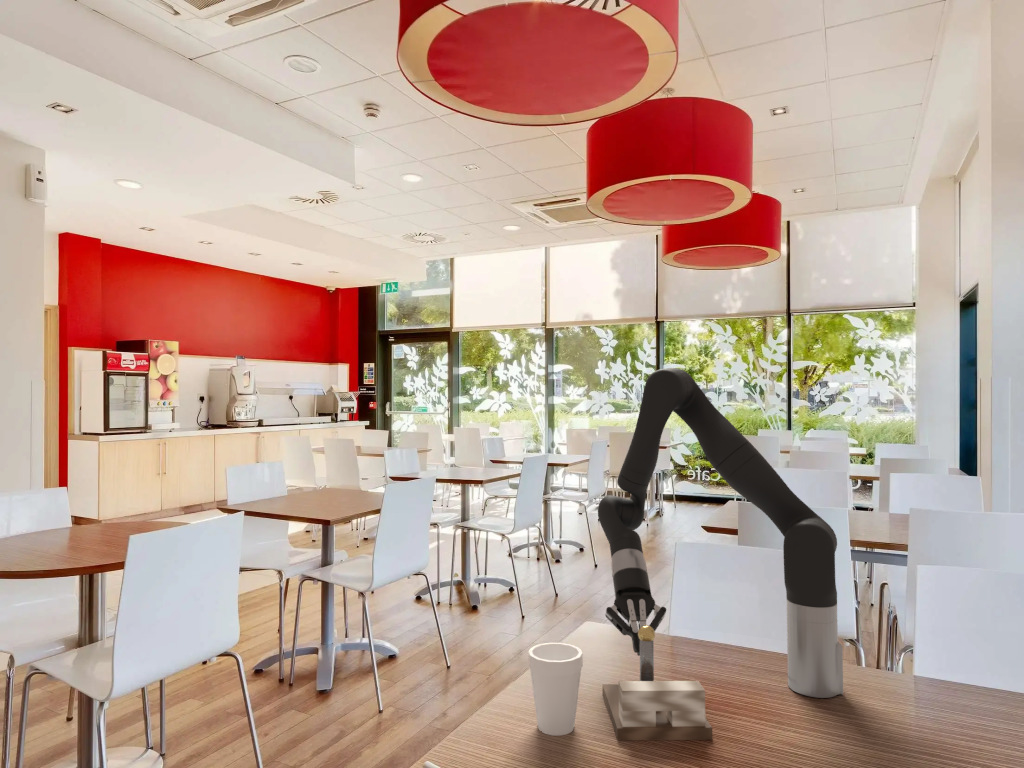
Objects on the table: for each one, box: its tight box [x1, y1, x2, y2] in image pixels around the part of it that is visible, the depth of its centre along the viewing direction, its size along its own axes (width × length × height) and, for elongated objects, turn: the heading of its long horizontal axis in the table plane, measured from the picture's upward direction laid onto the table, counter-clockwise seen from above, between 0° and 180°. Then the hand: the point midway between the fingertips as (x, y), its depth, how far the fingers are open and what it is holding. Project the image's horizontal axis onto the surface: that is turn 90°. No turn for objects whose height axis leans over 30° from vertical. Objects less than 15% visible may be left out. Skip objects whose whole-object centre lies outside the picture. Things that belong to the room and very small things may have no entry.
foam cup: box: [527, 642, 584, 737], centre depth 119 cm, size 10×9×13 cm
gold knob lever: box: [638, 624, 656, 681], centre depth 126 cm, size 3×9×12 cm, turn 0°
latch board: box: [601, 680, 713, 741], centre depth 123 cm, size 16×18×8 cm
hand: (641, 653), depth 134 cm, fingers closed
